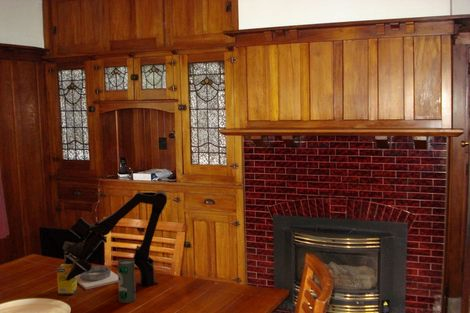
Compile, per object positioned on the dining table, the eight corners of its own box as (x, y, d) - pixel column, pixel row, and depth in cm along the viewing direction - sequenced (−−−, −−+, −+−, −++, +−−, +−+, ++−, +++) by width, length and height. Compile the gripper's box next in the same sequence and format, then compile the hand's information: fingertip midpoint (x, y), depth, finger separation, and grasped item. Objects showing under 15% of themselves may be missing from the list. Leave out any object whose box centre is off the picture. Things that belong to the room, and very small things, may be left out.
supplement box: (72, 295, 206) (71, 268, 204) (57, 295, 206) (56, 268, 205) (77, 289, 211) (76, 263, 210) (63, 290, 212) (61, 263, 210)
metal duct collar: (114, 276, 224) (114, 271, 223) (86, 283, 217) (85, 277, 216) (104, 269, 234) (103, 264, 234) (76, 275, 227) (76, 269, 226)
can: (118, 298, 201) (116, 260, 200) (134, 296, 204) (132, 258, 202) (120, 303, 196) (119, 265, 194) (136, 301, 198) (135, 263, 196)
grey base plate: (123, 281, 221) (123, 278, 221) (85, 289, 212) (85, 287, 212) (104, 268, 239) (103, 266, 239) (69, 275, 230) (68, 273, 230)
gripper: (67, 229, 216) (41, 260, 211) (82, 238, 201) (54, 272, 196) (87, 244, 221) (62, 275, 216) (103, 254, 206) (76, 287, 201)
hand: (63, 277), depth 207 cm, fingers closed on supplement box, 8 cm apart
